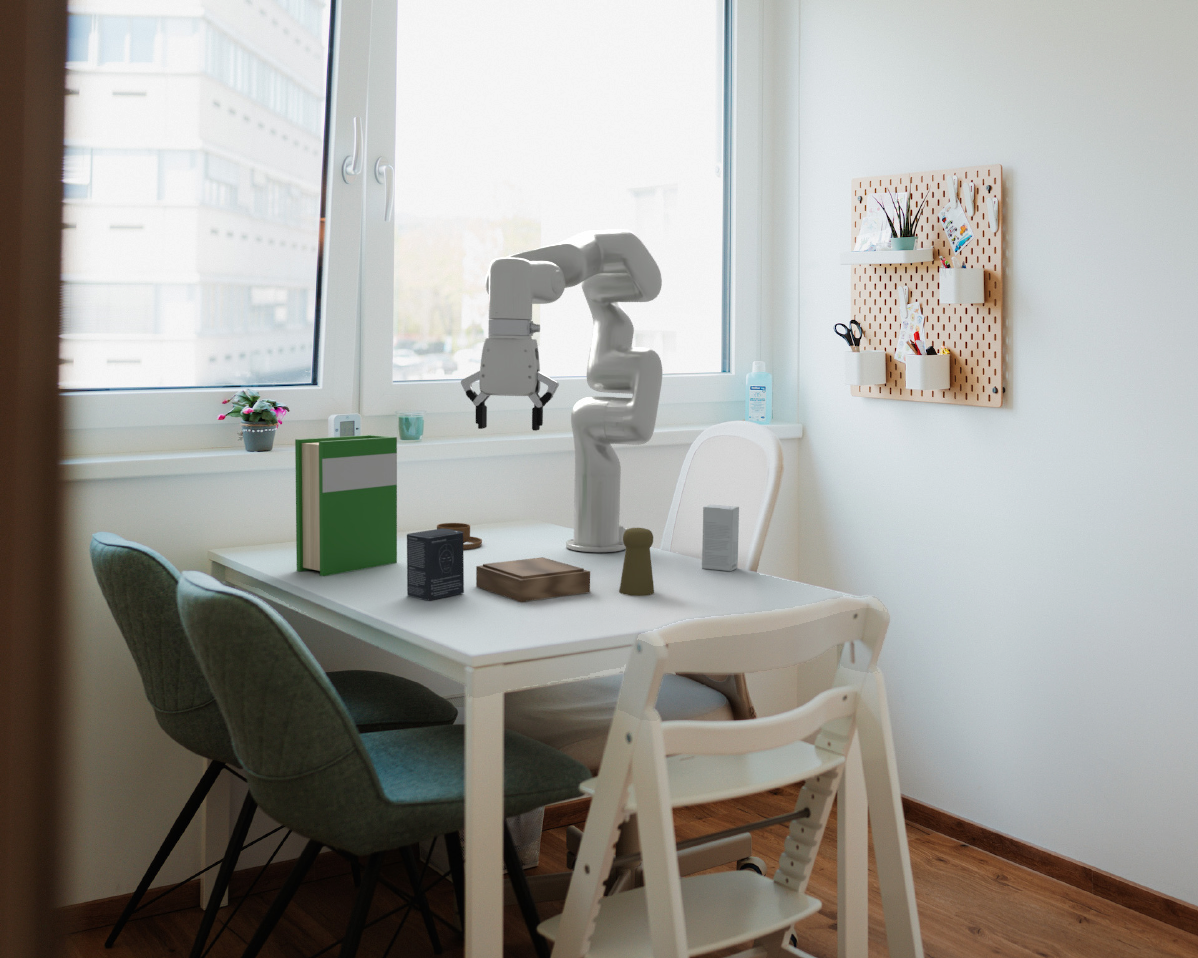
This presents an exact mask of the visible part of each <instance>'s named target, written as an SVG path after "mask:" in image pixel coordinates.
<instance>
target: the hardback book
mask: <svg viewBox="0 0 1198 958" xmlns="http://www.w3.org/2000/svg"><path fill="white" fill-rule="evenodd" d="M294 444H295V445H294V446H295V448H294V449H295V452H294V454H295V456H294V457H295V527H296V528H295V529H296V530H295V533H296V534H295V535H296V538H295V539H296V541H295V542H296V543H295V544H296V545H295V546H296V547H295V548H296V555H295V556H296V572H305V571H309V570H314V571H318V572H319V576H320V577H327V576H332V575H337V574H338V575H339V574H343V573H349V572H354V571H361V570H363V569H365V570H366V569H370V568H375V567H381V566H386V565H391V564H397V562H398V437H396V436H387V435H385V436H384V435H377V434H376V435H375V434H373V435H372V434H366V435H364V434H363V435H350V436H349V435H348V436H346V435H345V436H330V437H316V438H315V437H313V438H297V439H296V438H295V440H294Z"/></svg>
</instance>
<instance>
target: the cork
mask: <svg viewBox="0 0 1198 958" xmlns="http://www.w3.org/2000/svg"><path fill="white" fill-rule="evenodd" d="M629 528H630V529H627V530H626V531H625V532H624V535H623V543H624V545H625V547H626V548H625V552H624V559H623V564H622V565H623V566H622V571H621V578H620V585H619V593H620V594H622V595H626V596H631V597H632V596H633V597H644V596H645V597H646V596H652V595H654V594H655V586H654V577H653V566H652V559H651V558H652V557H651V547H652V546H653V543H654V534H653V532H652V530H650V529H649V528H644V527H635V528H631V527H629Z"/></svg>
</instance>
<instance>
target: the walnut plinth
mask: <svg viewBox="0 0 1198 958" xmlns="http://www.w3.org/2000/svg"><path fill="white" fill-rule="evenodd" d="M475 568H476V571H475V572H476V573H475V576H476V577H475V581H476V582H475V586H476V588H479V589H482V590H483V591H484V590H485V591H487V592H490V593H494V594H497V595H500V596H502V597H505V598H508V599H510V600H513V601H516V602H519V603H523V602H531V601H539V600H544V599H545V600H546V599H551V598H553V599H554V598H557V597H558V598H559V597H566V596H572V595H574V596H575V595H580V594H588V593H590V592H591V571H590V570H588V569H584V568H582V567H578V566H574V565H572V564H568V563H563V562H560V561H557V560H554V559H550V558H546V557H534V558H525V559H516V560H515V559H514V560H508V561H498V562H489V563H482V565H476V567H475Z"/></svg>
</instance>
